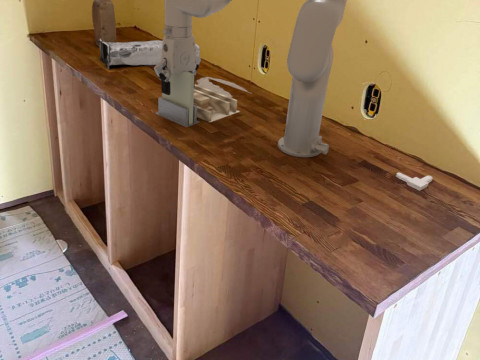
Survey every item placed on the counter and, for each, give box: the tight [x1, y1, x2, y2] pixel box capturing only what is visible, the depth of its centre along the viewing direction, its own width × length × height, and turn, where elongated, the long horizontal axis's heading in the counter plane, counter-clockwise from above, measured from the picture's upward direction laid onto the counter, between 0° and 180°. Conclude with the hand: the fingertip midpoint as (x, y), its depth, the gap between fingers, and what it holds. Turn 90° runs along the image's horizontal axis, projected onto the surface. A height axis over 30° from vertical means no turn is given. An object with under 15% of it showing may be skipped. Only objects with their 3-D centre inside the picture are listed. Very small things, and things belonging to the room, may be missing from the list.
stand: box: [154, 96, 200, 128], centre depth 145 cm, size 14×6×6 cm, turn 49°
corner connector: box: [395, 172, 433, 192], centre depth 125 cm, size 8×8×2 cm
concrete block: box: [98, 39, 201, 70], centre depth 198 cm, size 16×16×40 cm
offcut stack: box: [193, 93, 213, 113], centre depth 152 cm, size 10×5×4 cm, turn 49°
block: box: [91, 0, 117, 47], centre depth 210 cm, size 11×8×20 cm
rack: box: [194, 84, 241, 123], centre depth 154 cm, size 20×14×6 cm
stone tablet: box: [195, 76, 251, 98], centre depth 172 cm, size 16×30×2 cm, turn 31°
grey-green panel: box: [161, 71, 194, 124], centre depth 142 cm, size 12×2×15 cm, turn 49°
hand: (178, 90), depth 142 cm, fingers open, 9 cm apart
